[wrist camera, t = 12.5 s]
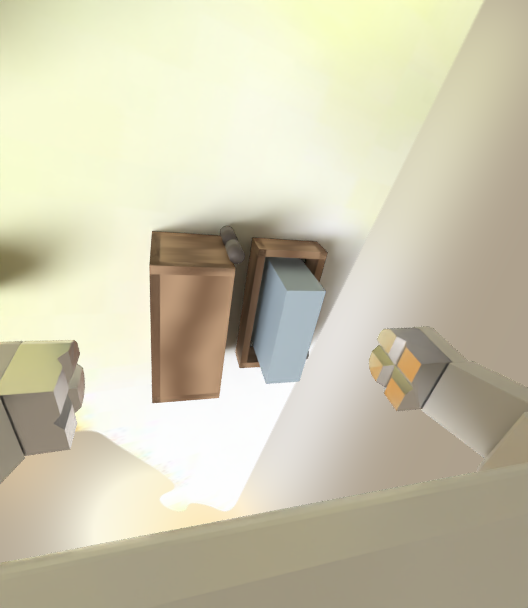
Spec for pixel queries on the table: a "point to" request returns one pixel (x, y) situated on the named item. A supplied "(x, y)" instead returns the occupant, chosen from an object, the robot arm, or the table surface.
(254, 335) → the door
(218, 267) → the cabinet
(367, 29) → the table surface
